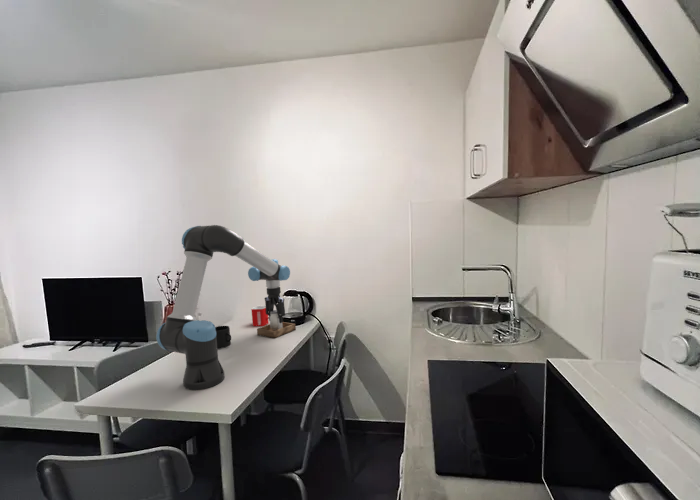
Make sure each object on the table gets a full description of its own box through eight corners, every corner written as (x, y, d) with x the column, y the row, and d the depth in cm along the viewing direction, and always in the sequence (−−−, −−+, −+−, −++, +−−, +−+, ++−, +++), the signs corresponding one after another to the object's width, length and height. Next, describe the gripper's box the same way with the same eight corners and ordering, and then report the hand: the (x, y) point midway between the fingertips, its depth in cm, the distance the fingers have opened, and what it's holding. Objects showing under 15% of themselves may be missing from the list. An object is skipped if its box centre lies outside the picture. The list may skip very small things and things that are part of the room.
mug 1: (224, 350, 174) (223, 332, 173) (207, 347, 179) (205, 330, 178) (238, 343, 182) (237, 326, 181) (221, 341, 187) (220, 325, 187)
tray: (275, 338, 187) (274, 332, 187) (257, 334, 195) (256, 328, 195) (295, 329, 200) (295, 323, 200) (278, 326, 208) (278, 321, 208)
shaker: (276, 330, 194) (275, 312, 193) (269, 329, 197) (267, 311, 196) (284, 327, 198) (282, 310, 198) (276, 326, 202) (275, 309, 201)
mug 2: (251, 326, 213) (250, 309, 212) (257, 322, 221) (256, 306, 220) (269, 326, 210) (268, 309, 210) (275, 322, 218) (274, 305, 218)
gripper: (290, 286, 194) (293, 327, 195) (267, 285, 204) (270, 324, 206) (280, 289, 187) (283, 331, 189) (256, 287, 198) (260, 327, 200)
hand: (276, 327), depth 198 cm, fingers closed on shaker, 6 cm apart
